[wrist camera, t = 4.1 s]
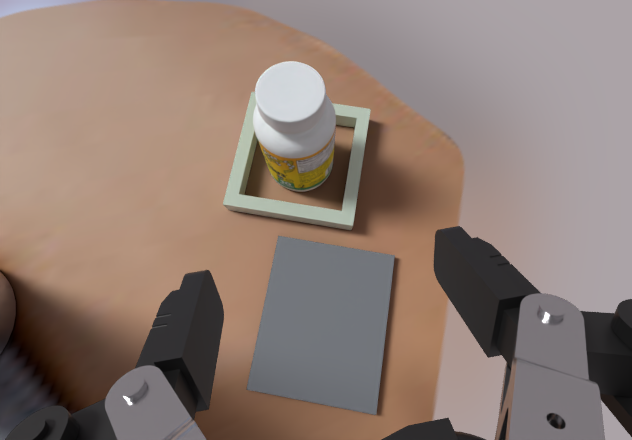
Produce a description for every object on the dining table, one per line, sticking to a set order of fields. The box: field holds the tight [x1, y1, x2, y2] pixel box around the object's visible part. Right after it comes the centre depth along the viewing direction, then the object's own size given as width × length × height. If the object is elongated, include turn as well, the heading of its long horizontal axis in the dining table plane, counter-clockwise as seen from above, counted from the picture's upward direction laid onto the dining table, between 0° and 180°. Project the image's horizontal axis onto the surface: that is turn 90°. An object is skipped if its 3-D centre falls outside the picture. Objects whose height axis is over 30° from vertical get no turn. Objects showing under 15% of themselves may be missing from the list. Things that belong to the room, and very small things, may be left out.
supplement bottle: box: [253, 61, 336, 192], centre depth 23 cm, size 5×5×10 cm
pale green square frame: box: [223, 92, 371, 230], centre depth 27 cm, size 10×10×2 cm
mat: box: [247, 236, 395, 415], centre depth 25 cm, size 11×9×1 cm
